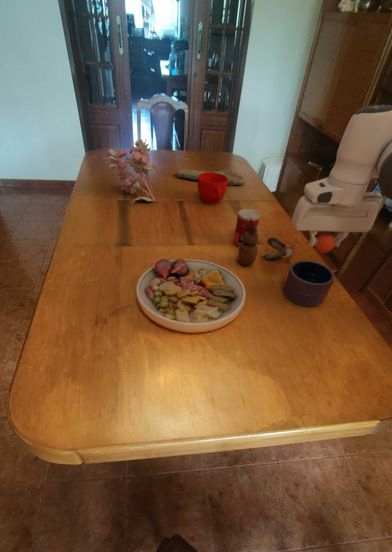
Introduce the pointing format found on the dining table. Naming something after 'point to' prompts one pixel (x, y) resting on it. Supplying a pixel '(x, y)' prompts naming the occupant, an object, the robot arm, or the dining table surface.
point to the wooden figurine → (248, 246)
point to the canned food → (245, 224)
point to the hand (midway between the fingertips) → (323, 245)
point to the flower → (138, 165)
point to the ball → (325, 242)
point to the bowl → (190, 295)
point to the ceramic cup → (212, 187)
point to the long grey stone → (232, 177)
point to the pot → (308, 283)
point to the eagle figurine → (280, 247)
